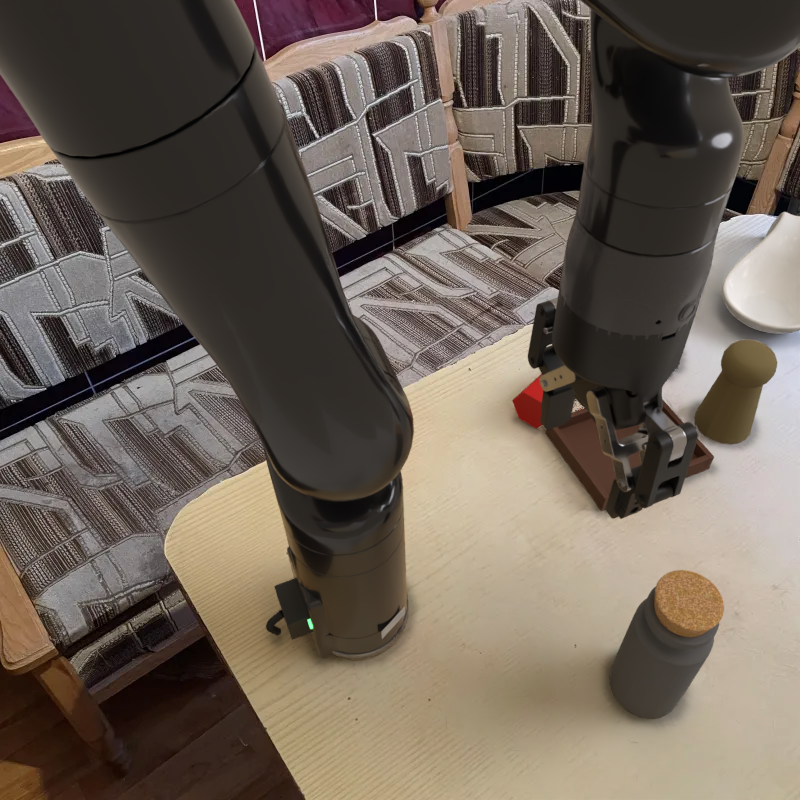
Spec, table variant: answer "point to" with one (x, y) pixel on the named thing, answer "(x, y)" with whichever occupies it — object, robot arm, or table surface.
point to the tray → (593, 465)
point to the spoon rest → (768, 280)
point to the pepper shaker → (736, 392)
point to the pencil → (530, 403)
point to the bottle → (666, 643)
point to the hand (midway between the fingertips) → (586, 465)
